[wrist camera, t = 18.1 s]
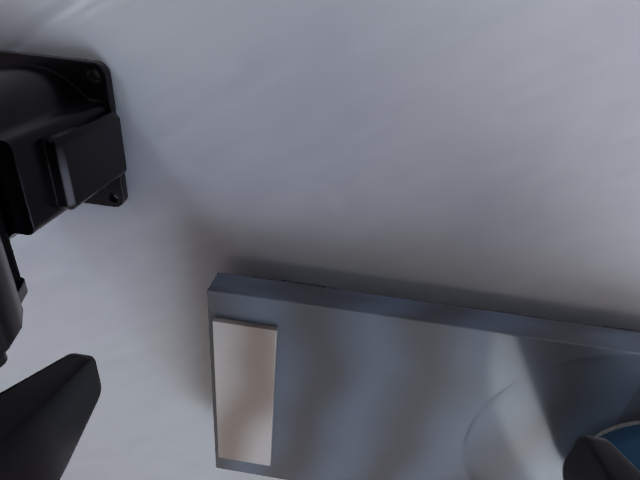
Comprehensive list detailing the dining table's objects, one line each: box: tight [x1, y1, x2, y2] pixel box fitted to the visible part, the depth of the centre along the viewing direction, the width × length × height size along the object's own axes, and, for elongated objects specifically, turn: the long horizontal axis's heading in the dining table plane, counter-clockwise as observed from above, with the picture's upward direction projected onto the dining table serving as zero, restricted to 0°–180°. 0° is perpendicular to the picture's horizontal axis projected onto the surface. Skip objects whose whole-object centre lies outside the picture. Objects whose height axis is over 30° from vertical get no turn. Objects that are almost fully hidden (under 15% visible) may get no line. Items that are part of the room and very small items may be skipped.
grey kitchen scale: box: [207, 273, 640, 480], centre depth 24 cm, size 26×13×3 cm, turn 85°
